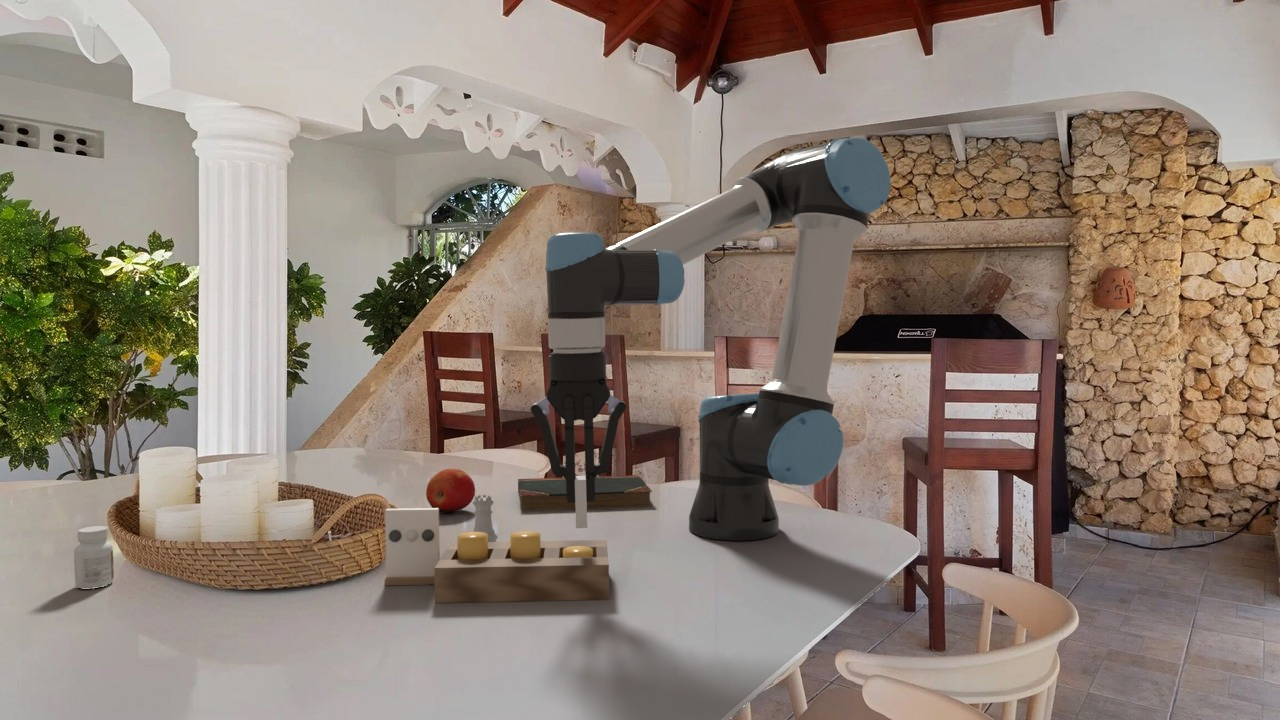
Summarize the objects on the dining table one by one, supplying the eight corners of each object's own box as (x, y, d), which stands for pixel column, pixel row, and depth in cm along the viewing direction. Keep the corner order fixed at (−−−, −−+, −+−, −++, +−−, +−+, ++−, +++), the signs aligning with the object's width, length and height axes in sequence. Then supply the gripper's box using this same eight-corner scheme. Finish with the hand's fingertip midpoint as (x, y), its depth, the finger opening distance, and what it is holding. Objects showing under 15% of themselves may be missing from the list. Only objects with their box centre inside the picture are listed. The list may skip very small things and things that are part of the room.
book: (519, 514, 158) (652, 509, 162) (519, 495, 158) (652, 490, 162) (517, 494, 176) (637, 490, 180) (517, 477, 175) (637, 473, 179)
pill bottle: (121, 582, 116) (119, 526, 116) (91, 592, 112) (89, 534, 112) (97, 579, 118) (96, 523, 117) (67, 588, 114) (65, 531, 113)
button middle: (541, 561, 117) (541, 530, 116) (539, 569, 113) (539, 538, 112) (511, 561, 116) (511, 531, 116) (509, 570, 112) (508, 538, 112)
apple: (481, 510, 159) (481, 468, 158) (449, 519, 152) (448, 475, 151) (450, 505, 163) (450, 464, 163) (417, 514, 156) (417, 470, 156)
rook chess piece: (491, 551, 132) (491, 500, 131) (464, 550, 132) (464, 499, 132) (502, 543, 136) (501, 494, 135) (475, 542, 137) (475, 493, 136)
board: (606, 571, 121) (606, 540, 121) (608, 599, 109) (608, 564, 109) (450, 574, 120) (449, 542, 120) (434, 603, 108) (434, 567, 108)
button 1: (489, 562, 116) (489, 531, 116) (486, 570, 112) (485, 539, 112) (460, 562, 116) (459, 531, 116) (455, 571, 112) (455, 539, 112)
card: (441, 577, 118) (440, 506, 118) (437, 584, 115) (436, 511, 115) (389, 578, 118) (388, 507, 117) (384, 585, 115) (383, 512, 114)
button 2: (592, 575, 117) (592, 545, 117) (592, 585, 113) (592, 553, 113) (563, 576, 117) (563, 546, 117) (562, 585, 113) (562, 554, 113)
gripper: (624, 348, 118) (628, 516, 119) (529, 350, 117) (534, 520, 118) (627, 351, 110) (631, 531, 112) (525, 353, 109) (531, 534, 111)
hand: (581, 525), depth 115 cm, fingers closed
